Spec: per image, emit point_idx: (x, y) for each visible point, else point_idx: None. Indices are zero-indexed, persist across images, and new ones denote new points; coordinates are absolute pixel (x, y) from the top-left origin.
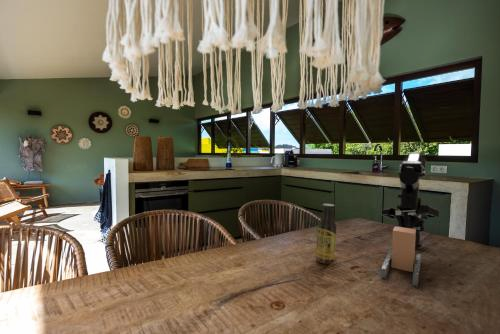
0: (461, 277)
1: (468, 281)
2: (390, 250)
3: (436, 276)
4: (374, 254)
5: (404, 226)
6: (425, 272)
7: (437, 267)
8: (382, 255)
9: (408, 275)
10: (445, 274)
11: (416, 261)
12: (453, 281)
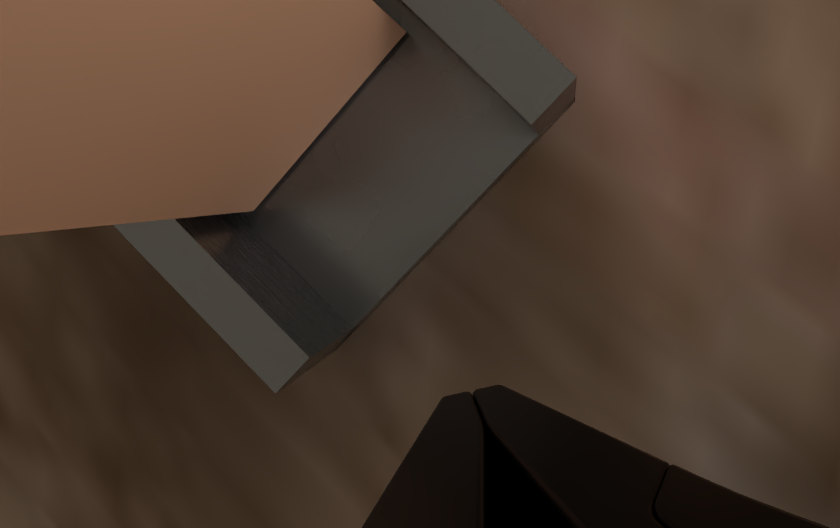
0: (70, 525)
1: (2, 506)
2: (499, 29)
3: (104, 308)
4: (830, 4)
5: (472, 503)
6: None
7: (287, 516)
8: (761, 111)
9: None
10: (135, 438)
11: None
12: (8, 374)
